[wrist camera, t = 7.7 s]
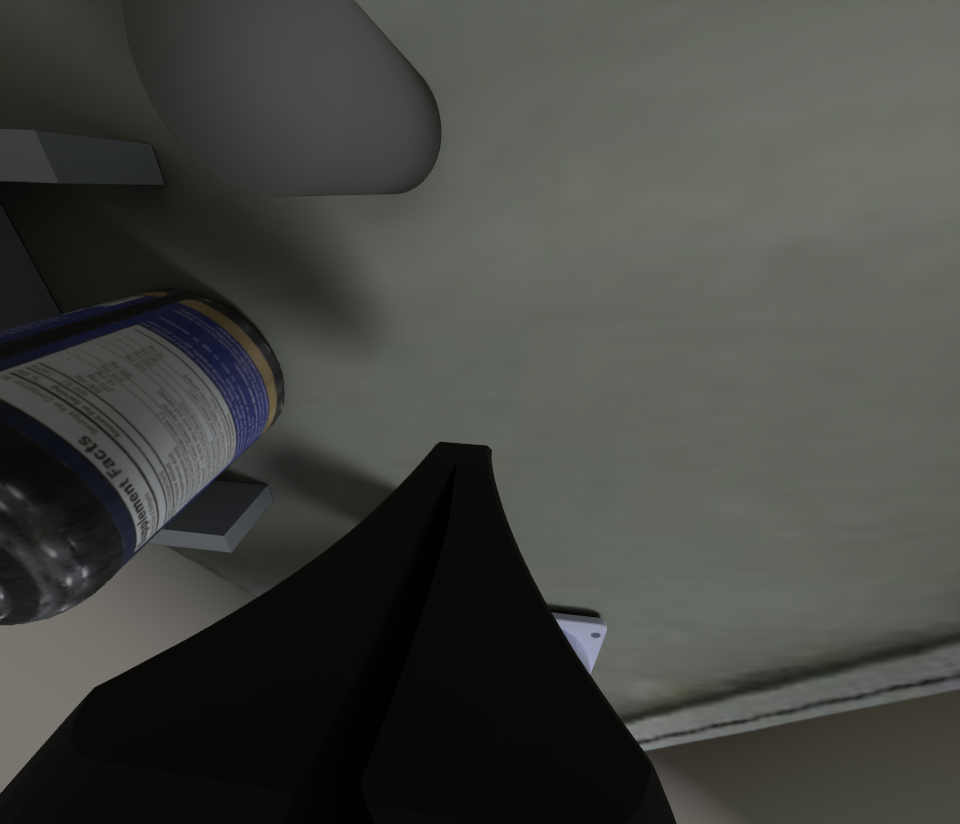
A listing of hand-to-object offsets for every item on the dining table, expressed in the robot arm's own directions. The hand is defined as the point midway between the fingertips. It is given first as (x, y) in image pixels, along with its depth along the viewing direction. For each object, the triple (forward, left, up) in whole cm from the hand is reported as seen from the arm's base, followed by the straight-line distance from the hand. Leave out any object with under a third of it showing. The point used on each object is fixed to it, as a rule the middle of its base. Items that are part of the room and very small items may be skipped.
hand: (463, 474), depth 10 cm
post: (+8, +3, -5) cm, 10 cm away
